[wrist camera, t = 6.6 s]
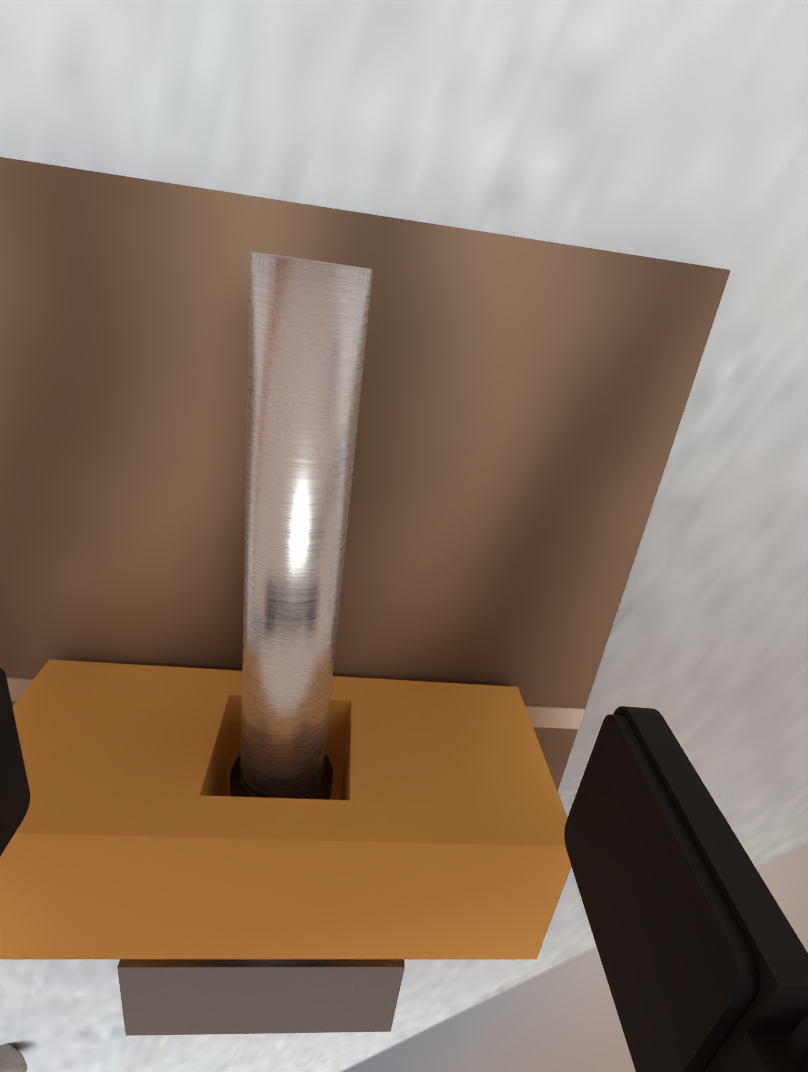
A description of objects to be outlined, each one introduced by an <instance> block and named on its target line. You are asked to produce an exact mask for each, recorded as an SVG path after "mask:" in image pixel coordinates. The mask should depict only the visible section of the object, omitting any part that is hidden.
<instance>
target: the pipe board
mask: <svg viewBox="0 0 808 1072" xmlns="http://www.w3.org/2000/svg"><path fill="white" fill-rule="evenodd" d="M250 252H257V253H265V254H272V255H280V256H287V257H294V258H301V259H308V260H315V261H322V262H329V263H336V264H343V265H349V266H356V267H363V268H369V269H373V273H372V283H371V293H370V303H369V314H368V324H367V334H366V344H365V354H364V364H363V374H362V384H361V394H360V405H359V415H358V425H357V435H356V445H355V455H354V465H353V475H352V486H351V496H350V506H349V516H348V526H347V536H346V546H345V556H344V566H343V577H342V587H341V597H340V607H339V617H338V627H337V637H336V647H335V657H334V668H333V676H340V677H357V678H374V679H392V680H409V681H426V682H443V683H460V684H477V685H494V686H512V687H518V689H519V691H520V694H521V697H522V699H523V702H524V705H525V707H526V710H527V713H528V715H529V718H530V720H531V723H532V726H533V728H534V731H535V734H536V736H537V739H538V742H539V744H540V747H541V750H542V752H543V755H544V757H545V760H546V763H547V765H548V768H549V771H550V773H551V776H552V779H553V781H554V784H555V787H556V789H557V791H558V788H559V785H560V782H561V779H562V776H563V773H564V770H565V767H566V764H567V761H568V758H569V755H570V752H571V749H572V746H573V743H574V740H575V737H576V734H577V731H578V729H579V727H580V724H581V721H582V718H583V715H584V712H585V707H586V704H587V701H588V698H589V695H590V692H591V689H592V686H593V683H594V680H595V677H596V674H597V671H598V668H599V665H600V662H601V659H602V655H603V652H604V649H605V646H606V643H607V640H608V637H609V634H610V631H611V628H612V625H613V622H614V619H615V616H616V613H617V610H618V607H619V604H620V601H621V598H622V595H623V592H624V589H625V586H626V583H627V580H628V577H629V574H630V571H631V568H632V565H633V562H634V559H635V556H636V553H637V550H638V547H639V544H640V541H641V538H642V535H643V532H644V529H645V526H646V523H647V520H648V517H649V514H650V511H651V508H652V505H653V502H654V499H655V496H656V493H657V490H658V487H659V484H660V481H661V478H662V475H663V472H664V469H665V466H666V463H667V460H668V457H669V454H670V451H671V448H672V445H673V442H674V439H675V436H676V433H677V430H678V427H679V424H680V421H681V418H682V415H683V412H684V409H685V406H686V403H687V400H688V397H689V394H690V391H691V388H692V385H693V382H694V379H695V376H696V373H697V370H698V367H699V364H700V361H701V357H702V354H703V351H704V348H705V345H706V342H707V339H708V336H709V333H710V330H711V327H712V324H713V321H714V318H715V315H716V312H717V309H718V306H719V303H720V300H721V297H722V294H723V291H724V288H725V285H726V282H727V279H728V276H729V273H730V270H727V269H720V268H714V267H707V266H701V265H694V264H688V263H682V262H675V261H669V260H662V259H656V258H649V257H643V256H636V255H630V254H623V253H617V252H610V251H604V250H597V249H591V248H585V247H578V246H572V245H565V244H559V243H552V242H546V241H539V240H533V239H526V238H520V237H513V236H507V235H500V234H494V233H488V232H481V231H475V230H468V229H462V228H455V227H449V226H442V225H436V224H429V223H423V222H416V221H410V220H403V219H397V218H391V217H384V216H378V215H371V214H365V213H358V212H352V211H345V210H339V209H332V208H326V207H319V206H313V205H306V204H300V203H294V202H287V201H281V200H274V199H268V198H261V197H255V196H248V195H242V194H235V193H229V192H222V191H216V190H209V189H203V188H197V187H190V186H184V185H177V184H171V183H164V182H158V181H151V180H145V179H138V178H132V177H125V176H119V175H112V174H106V173H100V172H93V171H87V170H80V169H74V168H67V167H61V166H54V165H48V164H41V163H35V162H28V161H22V160H15V159H9V158H3V157H0V668H1V669H3V670H4V671H5V674H6V678H7V682H8V687H9V692H10V697H11V702H12V707H13V705H14V704H15V703H16V702H17V700H18V699H19V698H20V696H21V695H22V694H23V693H24V691H25V690H26V689H27V687H28V686H29V685H30V684H31V682H32V681H33V680H34V678H35V677H36V676H37V675H38V673H39V672H40V671H41V669H42V668H43V667H44V666H45V664H46V663H47V662H48V660H66V661H83V662H100V663H117V664H134V665H152V666H169V667H186V668H203V669H220V670H237V671H242V670H243V616H244V563H245V510H246V456H247V403H248V349H249V296H250Z"/></svg>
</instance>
